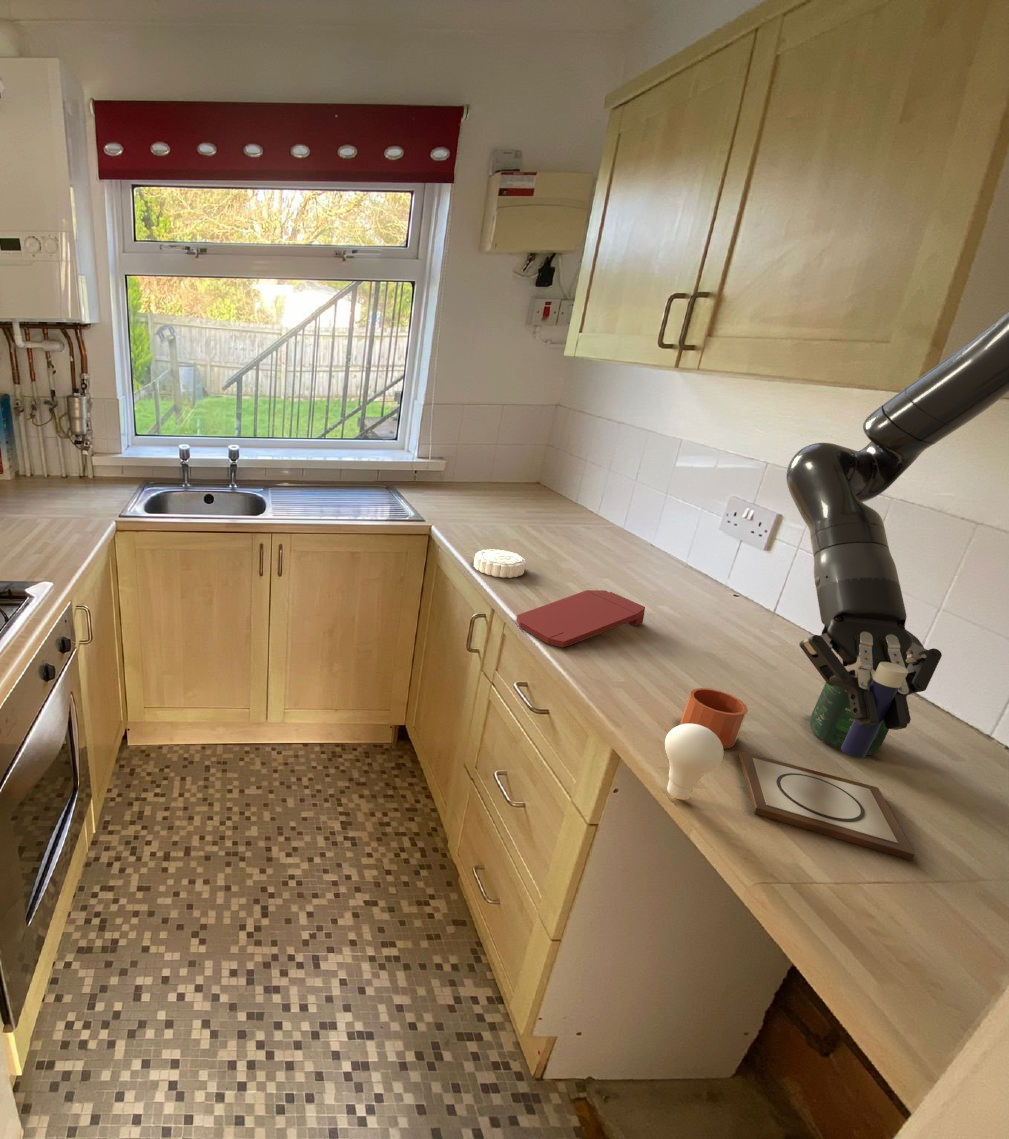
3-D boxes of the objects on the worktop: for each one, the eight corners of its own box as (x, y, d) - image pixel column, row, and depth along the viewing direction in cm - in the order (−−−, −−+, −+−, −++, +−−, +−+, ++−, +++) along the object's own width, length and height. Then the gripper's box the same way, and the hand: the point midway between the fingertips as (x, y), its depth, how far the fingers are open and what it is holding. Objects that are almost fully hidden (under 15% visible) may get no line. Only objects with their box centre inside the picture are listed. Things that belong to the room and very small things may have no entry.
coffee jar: (882, 764, 89) (937, 650, 82) (810, 743, 93) (857, 633, 86) (872, 731, 96) (922, 624, 89) (805, 713, 101) (848, 609, 94)
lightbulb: (678, 779, 86) (701, 711, 82) (716, 811, 80) (742, 741, 76) (639, 783, 85) (660, 716, 80) (674, 816, 79) (699, 745, 75)
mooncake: (529, 579, 151) (531, 566, 150) (477, 576, 153) (479, 562, 151) (517, 562, 162) (520, 549, 161) (469, 558, 164) (472, 545, 162)
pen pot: (731, 729, 96) (743, 696, 94) (738, 754, 91) (751, 720, 88) (677, 715, 100) (688, 683, 97) (681, 739, 94) (692, 705, 92)
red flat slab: (556, 665, 120) (651, 627, 128) (558, 643, 118) (654, 606, 126) (510, 637, 131) (601, 603, 138) (511, 616, 129) (603, 584, 136)
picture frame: (875, 793, 84) (879, 785, 83) (911, 861, 73) (916, 852, 73) (738, 756, 90) (741, 749, 90) (753, 813, 80) (757, 806, 79)
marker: (862, 750, 76) (904, 665, 71) (868, 761, 74) (912, 674, 69) (837, 744, 77) (876, 659, 72) (842, 755, 75) (883, 669, 70)
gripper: (811, 569, 76) (834, 710, 69) (949, 582, 73) (986, 731, 67) (774, 591, 83) (792, 722, 76) (899, 604, 80) (928, 741, 73)
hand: (882, 725), depth 71 cm, fingers closed on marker, 2 cm apart
